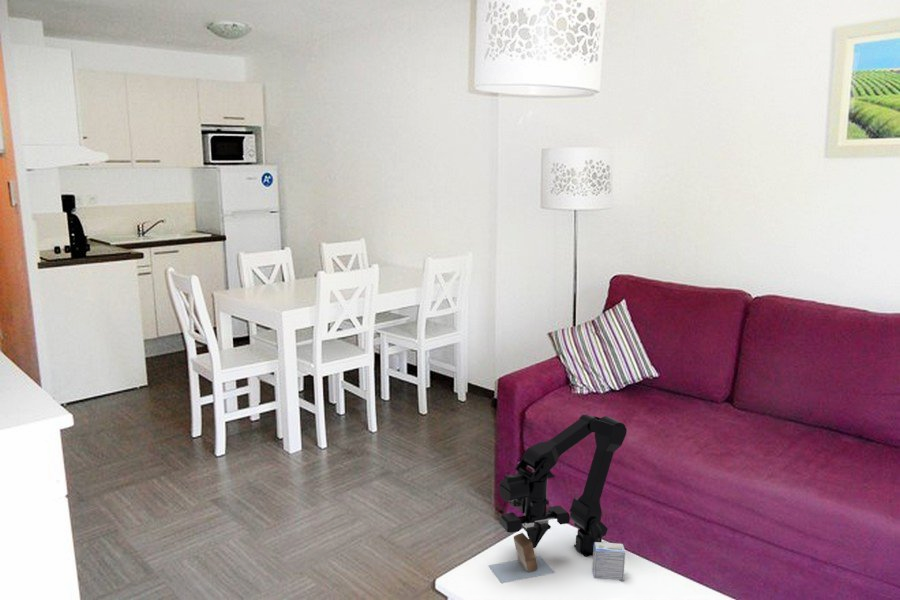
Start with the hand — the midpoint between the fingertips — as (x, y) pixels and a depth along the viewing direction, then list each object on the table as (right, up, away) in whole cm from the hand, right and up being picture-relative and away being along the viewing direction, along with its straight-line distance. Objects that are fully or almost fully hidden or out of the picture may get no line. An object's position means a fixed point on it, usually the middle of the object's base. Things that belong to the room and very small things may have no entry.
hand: (533, 547), depth 190 cm
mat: (-3, -6, -1) cm, 7 cm away
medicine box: (+20, -7, -3) cm, 21 cm away
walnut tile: (-1, -5, 0) cm, 5 cm away
